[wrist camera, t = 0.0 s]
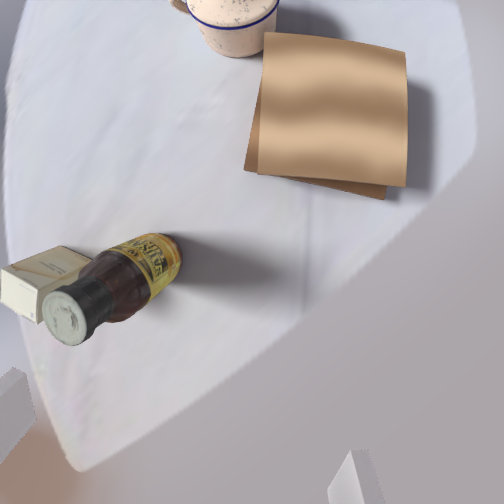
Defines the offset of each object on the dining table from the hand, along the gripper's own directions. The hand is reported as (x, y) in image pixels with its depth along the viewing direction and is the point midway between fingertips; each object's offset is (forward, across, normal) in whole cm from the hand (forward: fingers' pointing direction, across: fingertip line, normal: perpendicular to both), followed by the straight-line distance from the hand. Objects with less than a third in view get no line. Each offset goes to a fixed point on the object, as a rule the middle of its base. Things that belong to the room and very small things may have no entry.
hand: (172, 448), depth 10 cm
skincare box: (+28, -21, -5) cm, 36 cm away
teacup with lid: (+28, -6, +28) cm, 40 cm away
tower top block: (+25, +7, +18) cm, 31 cm away
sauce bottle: (+28, -9, -1) cm, 30 cm away
